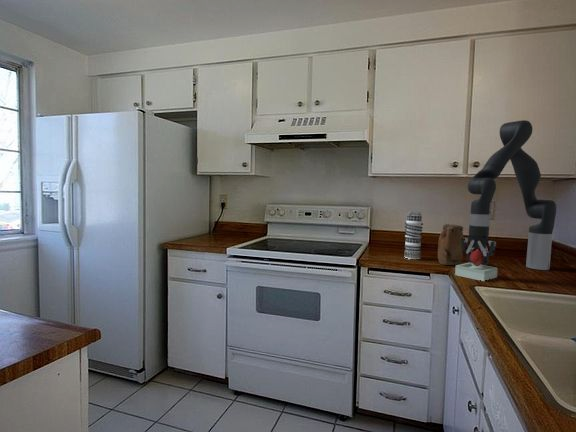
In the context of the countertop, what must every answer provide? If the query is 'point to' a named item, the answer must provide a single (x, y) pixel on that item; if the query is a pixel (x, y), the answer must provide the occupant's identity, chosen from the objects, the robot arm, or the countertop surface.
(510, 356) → the countertop surface
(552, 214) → the robot arm
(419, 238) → the white grey cylinder
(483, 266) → the stand
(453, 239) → the block
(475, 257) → the onion
